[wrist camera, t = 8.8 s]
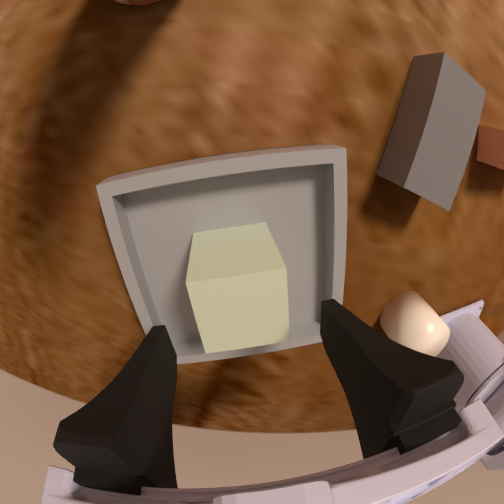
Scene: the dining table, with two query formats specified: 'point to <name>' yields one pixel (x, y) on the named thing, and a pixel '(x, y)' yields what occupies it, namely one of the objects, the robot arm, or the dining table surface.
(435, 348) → the cream round brick
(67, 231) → the dining table surface
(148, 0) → the sauce bottle
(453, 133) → the grey rectangular block
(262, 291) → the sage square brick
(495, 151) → the terracotta slim brick
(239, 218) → the grey tray
